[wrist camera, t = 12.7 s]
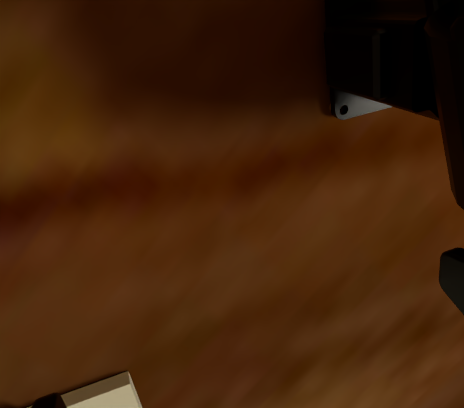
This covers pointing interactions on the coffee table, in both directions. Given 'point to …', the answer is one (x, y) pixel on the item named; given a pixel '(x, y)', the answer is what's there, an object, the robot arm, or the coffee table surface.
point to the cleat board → (105, 394)
